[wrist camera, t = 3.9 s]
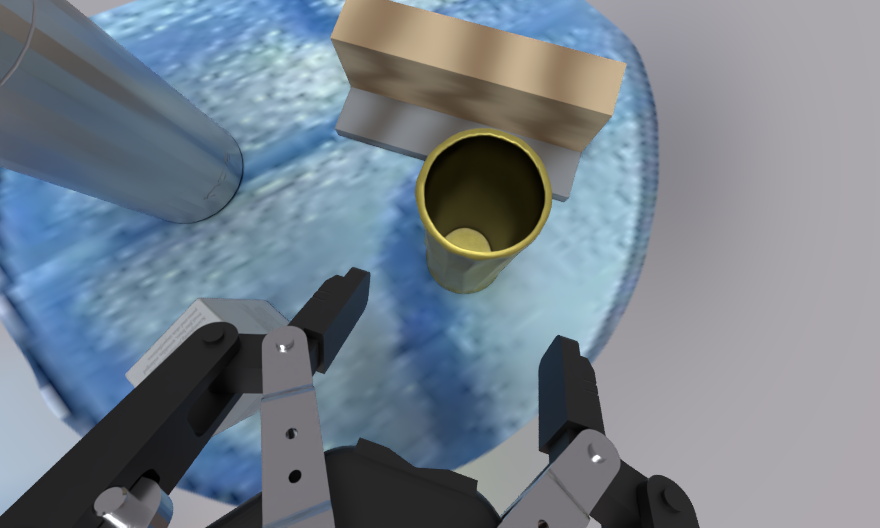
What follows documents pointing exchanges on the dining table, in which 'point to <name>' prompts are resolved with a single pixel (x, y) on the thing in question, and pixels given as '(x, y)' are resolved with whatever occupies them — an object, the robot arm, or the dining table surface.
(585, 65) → the ridge
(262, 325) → the skincare box
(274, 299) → the dining table surface
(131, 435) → the robot arm
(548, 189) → the vase
